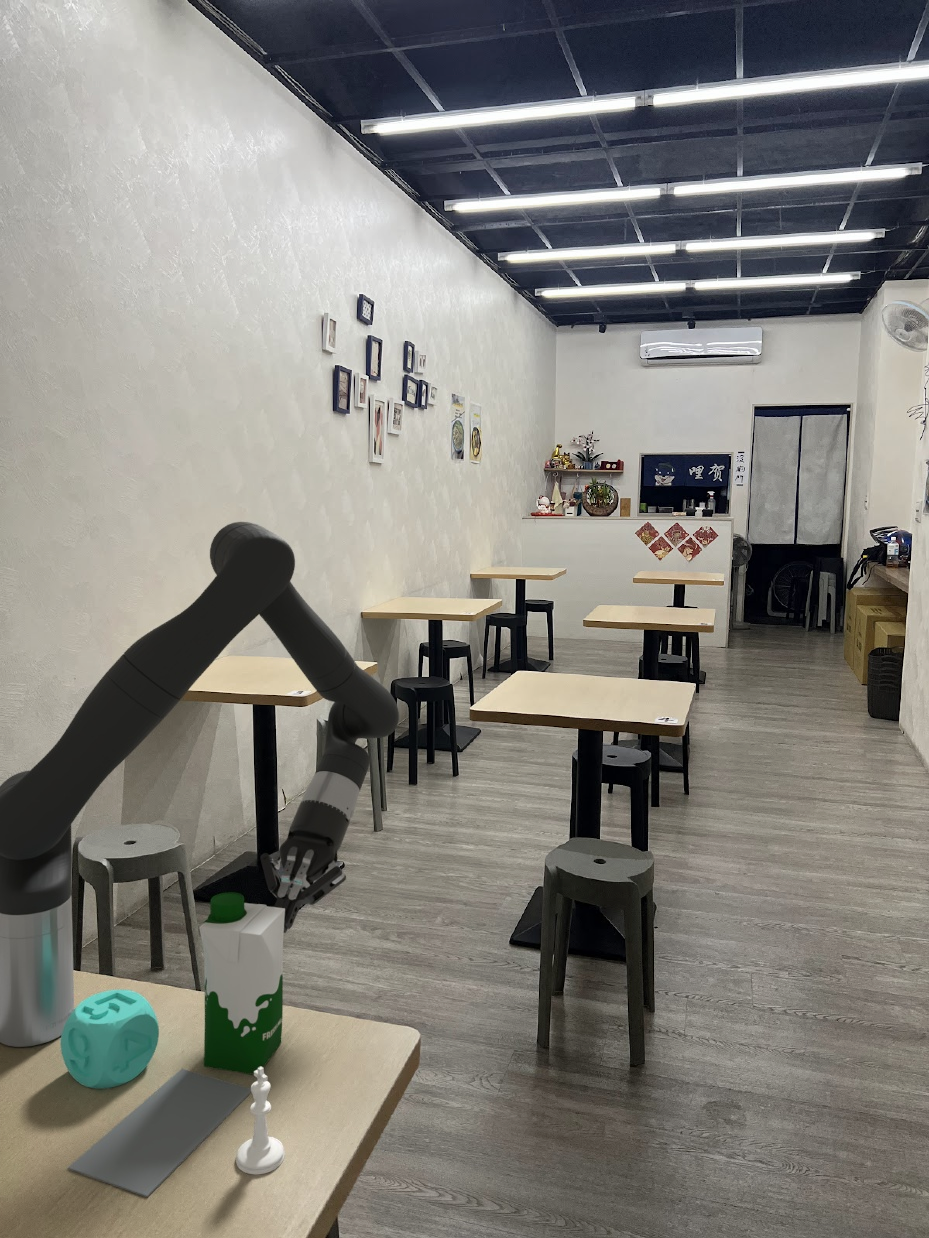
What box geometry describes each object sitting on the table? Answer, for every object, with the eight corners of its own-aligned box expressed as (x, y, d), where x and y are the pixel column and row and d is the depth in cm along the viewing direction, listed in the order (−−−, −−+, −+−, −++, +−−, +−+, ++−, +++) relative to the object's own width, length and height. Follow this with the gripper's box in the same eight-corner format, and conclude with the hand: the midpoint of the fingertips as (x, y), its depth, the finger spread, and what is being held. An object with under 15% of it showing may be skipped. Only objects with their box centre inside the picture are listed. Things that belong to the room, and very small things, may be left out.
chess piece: (264, 1134, 98) (264, 1048, 96) (294, 1156, 94) (294, 1066, 93) (226, 1159, 94) (226, 1069, 93) (256, 1182, 91) (256, 1089, 90)
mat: (67, 1169, 92) (67, 1167, 92) (182, 1069, 108) (182, 1068, 108) (147, 1197, 88) (147, 1195, 88) (252, 1090, 105) (252, 1088, 105)
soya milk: (226, 1030, 117) (225, 882, 115) (291, 1040, 115) (292, 890, 113) (192, 1070, 108) (191, 911, 106) (263, 1081, 107) (263, 920, 104)
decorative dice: (160, 1062, 110) (159, 1000, 109) (105, 1098, 103) (103, 1032, 102) (116, 1042, 114) (115, 982, 113) (60, 1075, 107) (58, 1011, 106)
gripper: (275, 792, 127) (222, 909, 117) (358, 805, 122) (311, 928, 112) (294, 817, 133) (246, 931, 123) (375, 830, 128) (332, 950, 118)
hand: (277, 929), depth 118 cm, fingers closed
